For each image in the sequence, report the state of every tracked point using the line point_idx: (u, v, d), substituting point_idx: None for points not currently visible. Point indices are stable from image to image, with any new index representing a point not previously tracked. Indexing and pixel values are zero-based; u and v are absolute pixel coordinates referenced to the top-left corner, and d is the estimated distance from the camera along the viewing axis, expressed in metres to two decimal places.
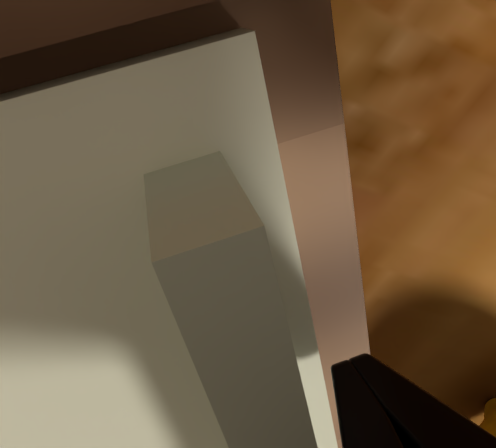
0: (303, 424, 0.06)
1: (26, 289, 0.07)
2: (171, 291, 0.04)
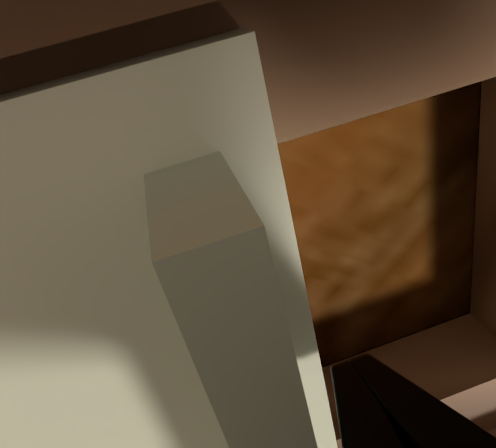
0: (303, 423, 0.06)
1: (26, 289, 0.07)
2: (171, 291, 0.05)
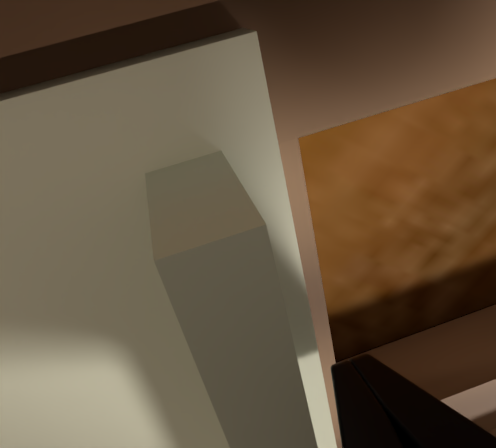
0: (303, 423, 0.06)
1: (27, 288, 0.07)
2: (173, 289, 0.05)
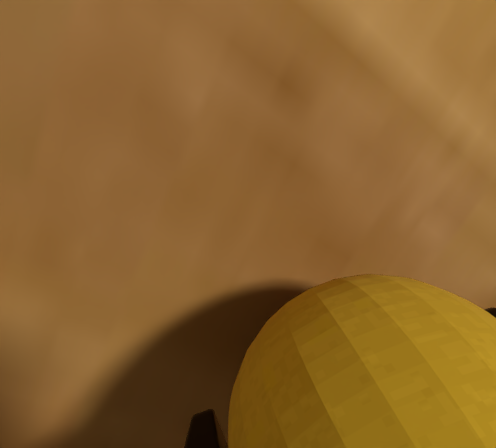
0: None
1: None
2: None
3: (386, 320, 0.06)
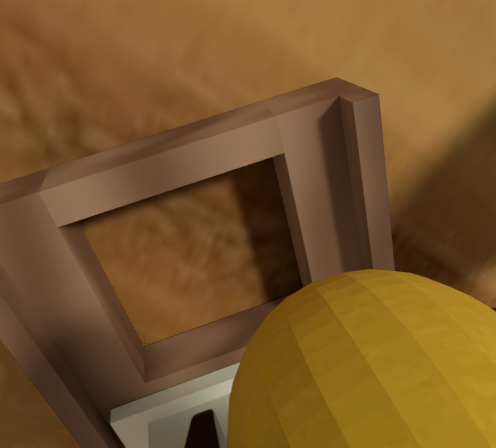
0: None
1: None
2: None
3: (387, 313, 0.06)
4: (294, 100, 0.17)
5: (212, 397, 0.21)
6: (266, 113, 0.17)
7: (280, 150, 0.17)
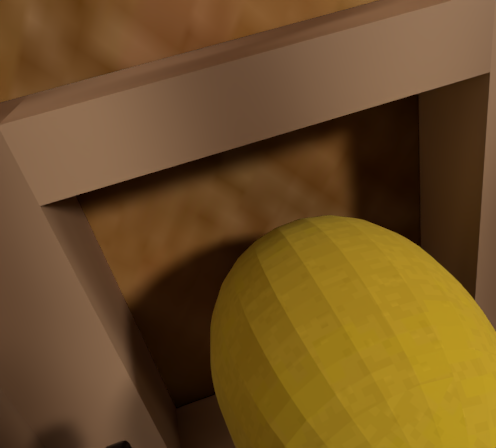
0: None
1: None
2: None
3: (325, 239, 0.08)
4: None
5: None
6: None
7: (485, 66, 0.09)
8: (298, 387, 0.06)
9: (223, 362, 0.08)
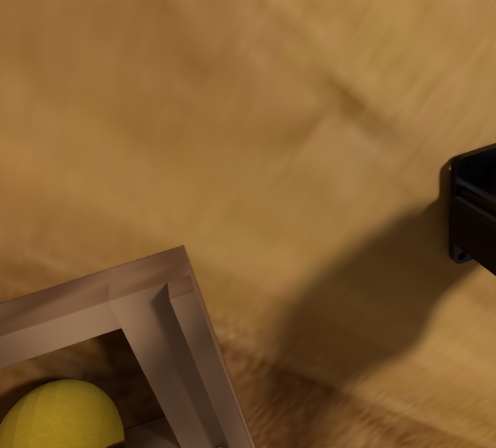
0: None
1: None
2: None
3: (34, 407, 0.18)
4: (134, 276, 0.19)
5: None
6: (104, 293, 0.18)
7: (117, 326, 0.18)
8: None
9: None
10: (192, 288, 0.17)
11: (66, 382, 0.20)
